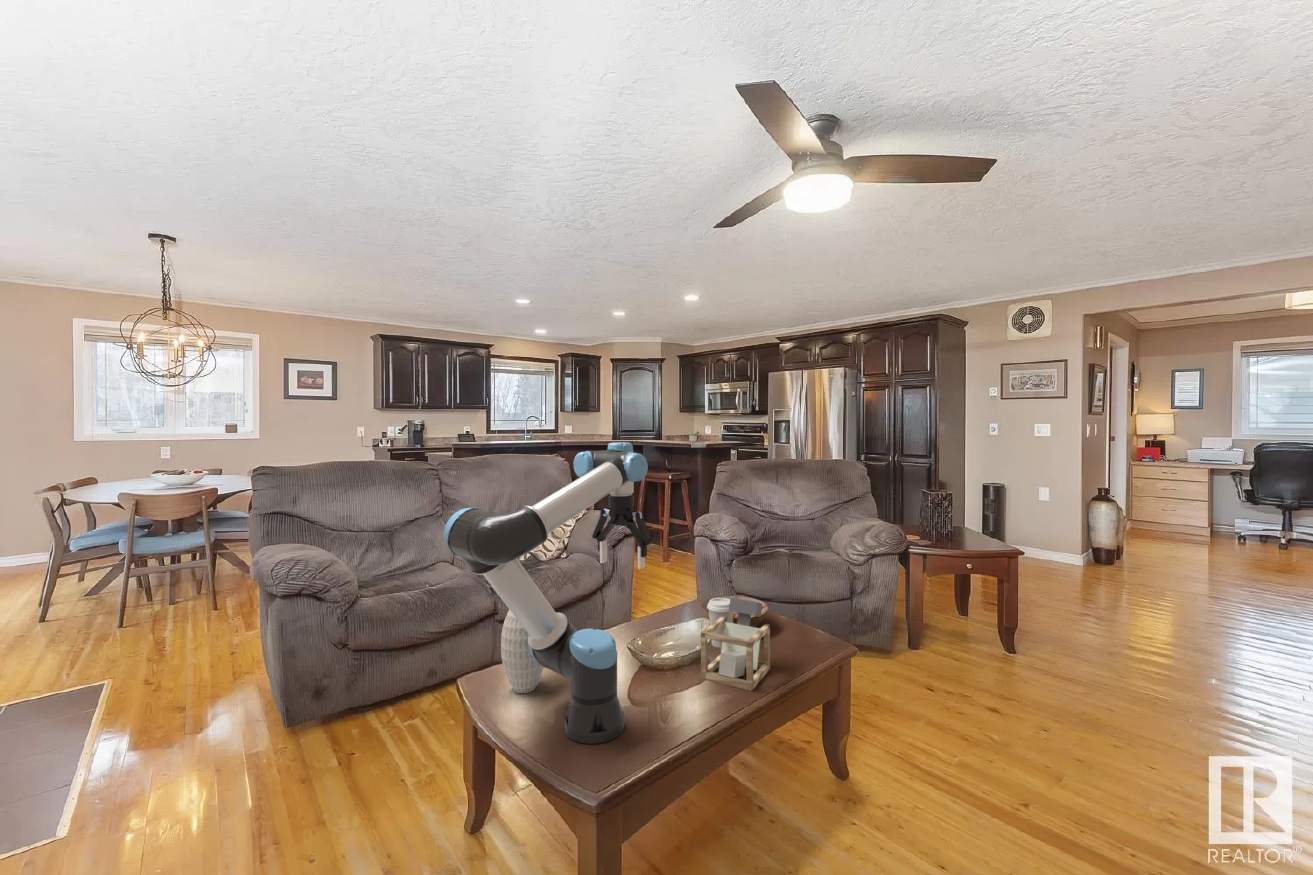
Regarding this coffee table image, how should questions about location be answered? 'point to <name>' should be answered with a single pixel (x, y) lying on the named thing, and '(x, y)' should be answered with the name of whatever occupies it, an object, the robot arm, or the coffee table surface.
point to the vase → (518, 657)
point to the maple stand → (763, 666)
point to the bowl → (754, 619)
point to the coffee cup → (719, 614)
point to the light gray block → (732, 664)
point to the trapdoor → (742, 627)
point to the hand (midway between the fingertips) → (622, 565)
